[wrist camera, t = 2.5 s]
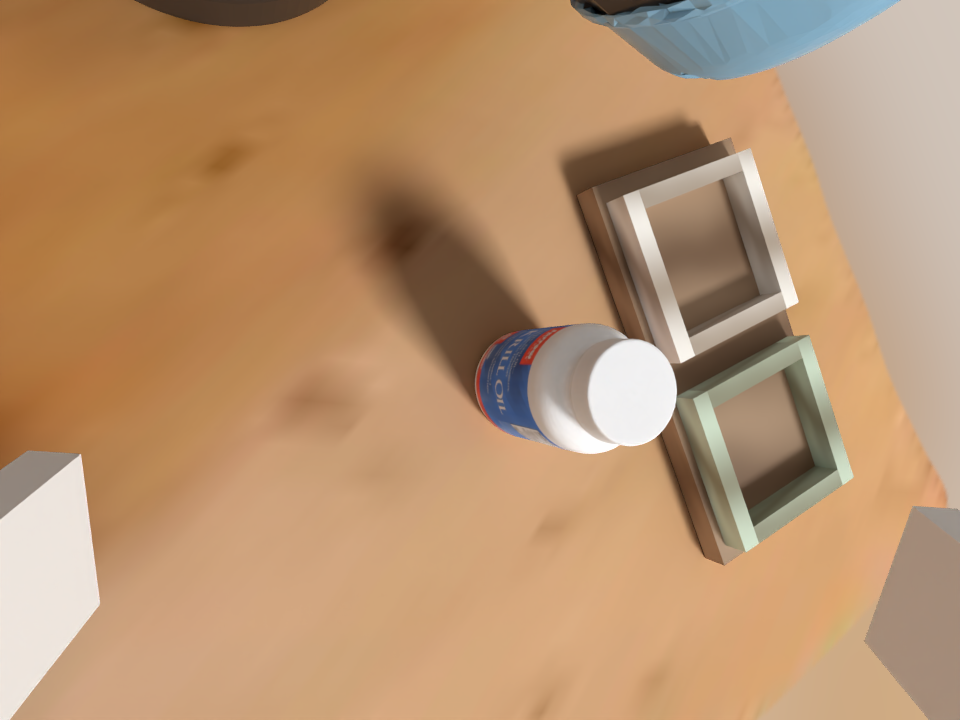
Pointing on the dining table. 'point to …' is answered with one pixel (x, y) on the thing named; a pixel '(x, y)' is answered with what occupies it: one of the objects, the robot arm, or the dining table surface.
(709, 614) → the dining table surface
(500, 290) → the dining table surface
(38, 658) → the robot arm
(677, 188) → the board
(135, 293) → the dining table surface
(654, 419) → the pill bottle
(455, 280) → the dining table surface
